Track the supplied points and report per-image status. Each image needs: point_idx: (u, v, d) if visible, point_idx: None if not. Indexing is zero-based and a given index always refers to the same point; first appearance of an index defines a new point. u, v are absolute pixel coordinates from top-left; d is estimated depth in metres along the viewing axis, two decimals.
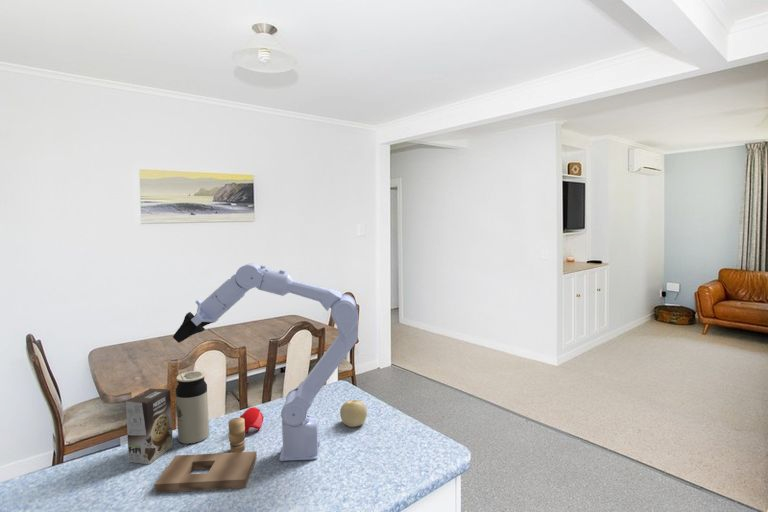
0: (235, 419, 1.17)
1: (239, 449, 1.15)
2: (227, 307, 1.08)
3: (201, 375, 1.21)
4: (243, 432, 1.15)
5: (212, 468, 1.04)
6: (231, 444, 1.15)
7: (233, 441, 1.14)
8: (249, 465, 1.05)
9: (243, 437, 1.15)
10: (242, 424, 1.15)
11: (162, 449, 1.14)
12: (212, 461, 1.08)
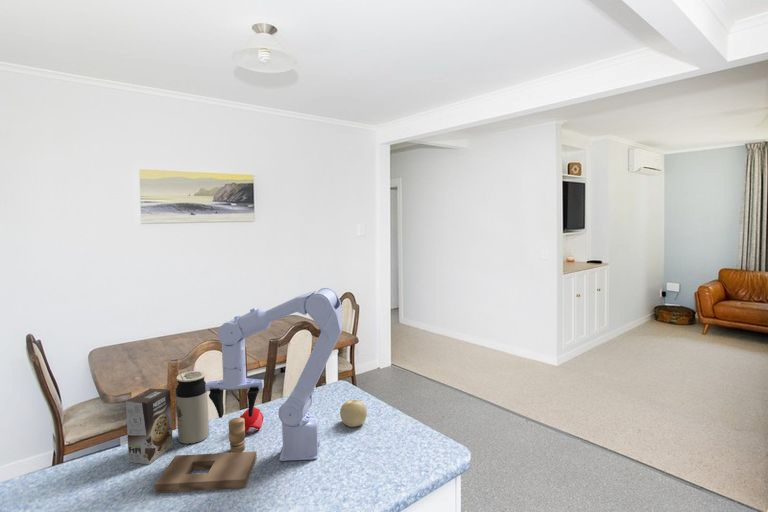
0: (235, 419, 1.17)
1: (239, 449, 1.15)
2: (225, 368, 1.12)
3: (201, 375, 1.21)
4: (243, 432, 1.15)
5: (212, 468, 1.04)
6: (231, 444, 1.15)
7: (233, 441, 1.14)
8: (249, 465, 1.05)
9: (243, 437, 1.15)
10: (242, 424, 1.15)
11: (162, 449, 1.14)
12: (212, 461, 1.08)
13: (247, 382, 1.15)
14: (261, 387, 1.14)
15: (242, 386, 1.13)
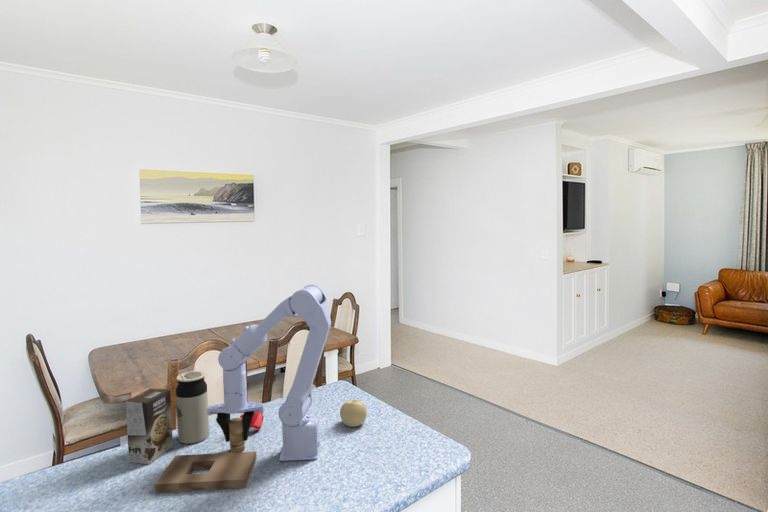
0: (235, 419, 1.17)
1: (239, 449, 1.15)
2: (226, 393, 1.12)
3: (201, 375, 1.21)
4: (243, 432, 1.15)
5: (212, 468, 1.04)
6: (231, 444, 1.15)
7: (233, 441, 1.14)
8: (249, 465, 1.05)
9: (243, 437, 1.15)
10: (242, 424, 1.15)
11: (162, 449, 1.14)
12: (212, 461, 1.08)
13: (248, 406, 1.15)
14: (262, 411, 1.15)
15: (243, 410, 1.13)
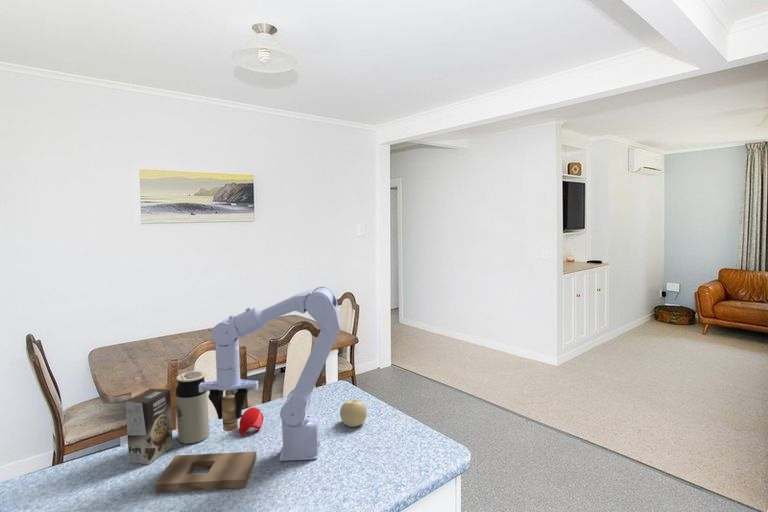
0: (228, 396, 1.14)
1: (232, 427, 1.12)
2: (219, 369, 1.10)
3: (201, 375, 1.21)
4: None
5: (212, 468, 1.04)
6: (224, 422, 1.12)
7: (226, 418, 1.12)
8: (249, 465, 1.05)
9: None
10: (235, 401, 1.12)
11: (162, 449, 1.14)
12: (212, 461, 1.08)
13: (241, 383, 1.13)
14: (255, 388, 1.12)
15: (236, 387, 1.11)
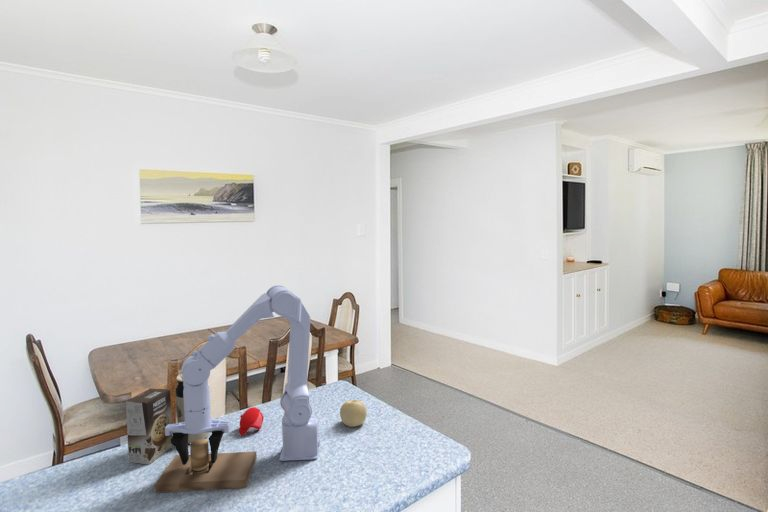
0: (199, 440, 1.05)
1: None
2: (186, 411, 1.01)
3: None
4: (206, 456, 1.04)
5: (212, 468, 1.04)
6: (193, 469, 1.03)
7: (195, 466, 1.03)
8: (249, 465, 1.05)
9: (206, 461, 1.04)
10: (205, 447, 1.03)
11: (162, 449, 1.14)
12: None
13: (212, 425, 1.04)
14: (227, 431, 1.03)
15: (205, 430, 1.02)
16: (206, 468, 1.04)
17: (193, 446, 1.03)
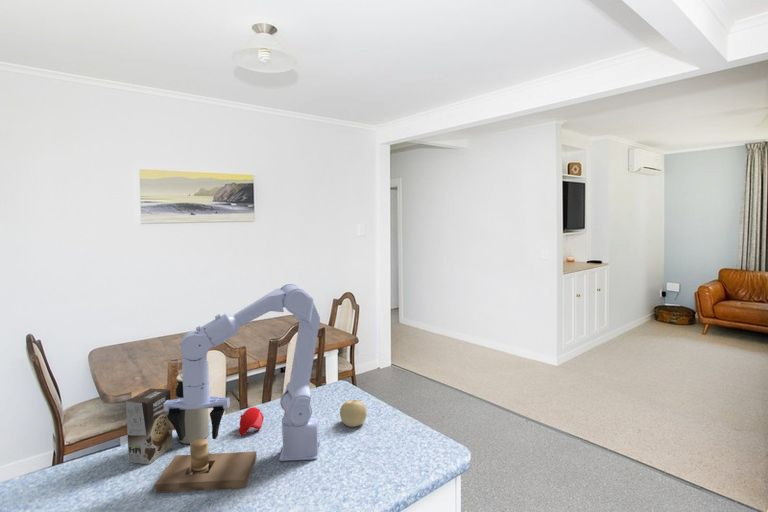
0: (198, 440, 1.05)
1: None
2: (185, 386, 1.00)
3: None
4: (206, 456, 1.04)
5: (212, 468, 1.04)
6: (193, 469, 1.03)
7: (195, 466, 1.03)
8: (249, 465, 1.05)
9: (206, 461, 1.04)
10: (205, 447, 1.03)
11: (162, 449, 1.14)
12: (212, 461, 1.08)
13: (211, 401, 1.03)
14: (226, 406, 1.03)
15: (204, 406, 1.01)
16: (206, 468, 1.04)
17: (193, 446, 1.03)
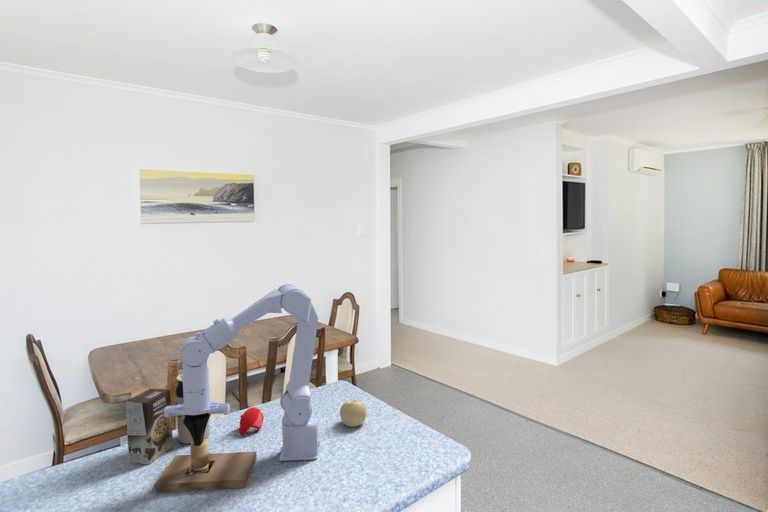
0: None
1: None
2: (185, 392, 1.01)
3: None
4: (206, 456, 1.04)
5: (212, 468, 1.04)
6: (193, 469, 1.03)
7: (195, 466, 1.03)
8: (249, 465, 1.05)
9: (206, 461, 1.04)
10: (205, 447, 1.03)
11: (162, 449, 1.14)
12: (212, 461, 1.08)
13: (211, 407, 1.03)
14: (226, 412, 1.03)
15: (204, 412, 1.01)
16: (206, 468, 1.04)
17: (193, 446, 1.03)
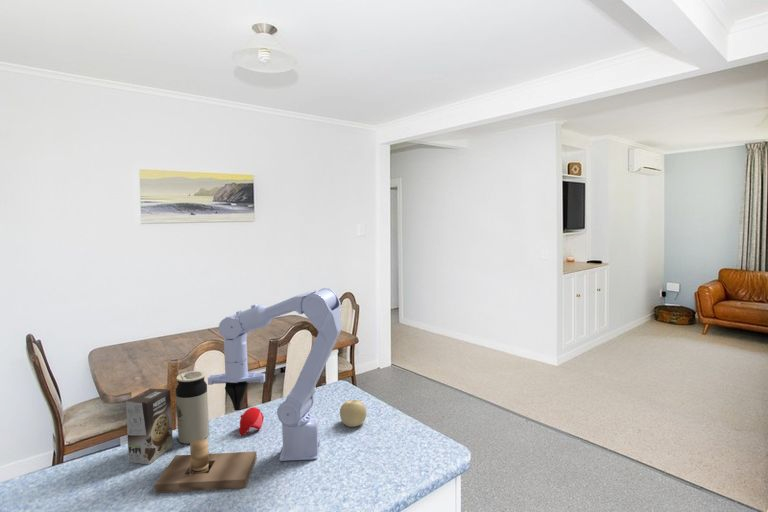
0: (199, 440, 1.05)
1: None
2: (227, 362, 1.14)
3: (201, 375, 1.21)
4: (206, 456, 1.04)
5: (212, 468, 1.04)
6: (193, 469, 1.03)
7: (195, 466, 1.03)
8: (249, 465, 1.05)
9: (206, 461, 1.04)
10: (205, 447, 1.03)
11: (162, 449, 1.14)
12: (212, 461, 1.08)
13: (249, 376, 1.17)
14: (262, 381, 1.16)
15: (244, 380, 1.14)
16: (206, 468, 1.04)
17: (193, 446, 1.03)
